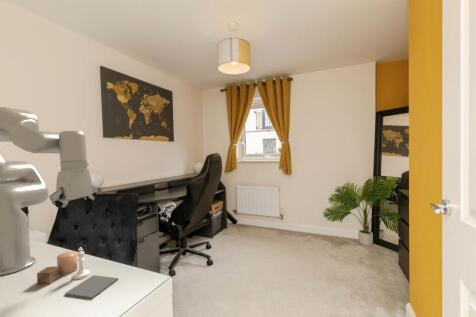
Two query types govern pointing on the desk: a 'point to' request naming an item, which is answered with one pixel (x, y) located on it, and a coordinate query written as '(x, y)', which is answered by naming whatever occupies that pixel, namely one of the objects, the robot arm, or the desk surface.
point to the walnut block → (47, 275)
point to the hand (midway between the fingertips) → (77, 214)
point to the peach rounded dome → (67, 263)
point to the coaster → (91, 287)
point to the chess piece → (81, 267)
